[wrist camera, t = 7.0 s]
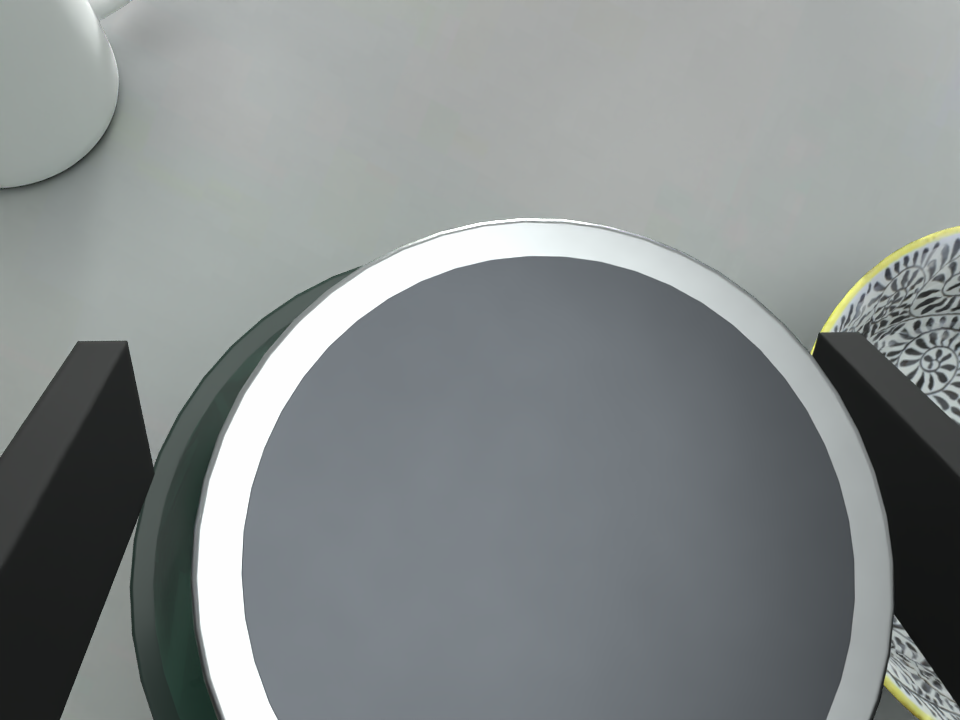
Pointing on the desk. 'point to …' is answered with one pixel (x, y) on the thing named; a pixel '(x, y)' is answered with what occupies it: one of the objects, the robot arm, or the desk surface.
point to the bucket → (189, 524)
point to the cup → (53, 85)
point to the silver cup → (540, 499)
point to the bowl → (934, 370)
